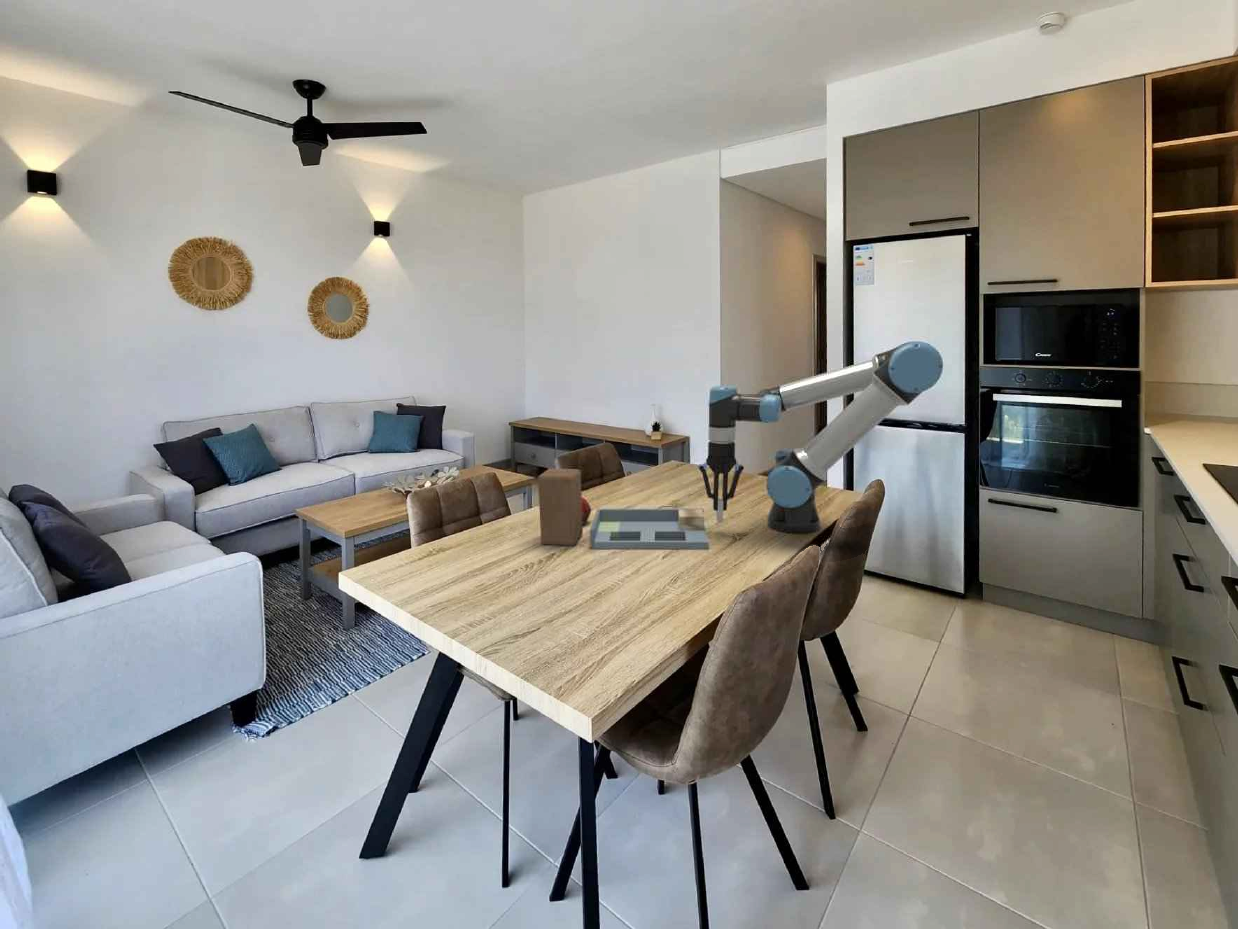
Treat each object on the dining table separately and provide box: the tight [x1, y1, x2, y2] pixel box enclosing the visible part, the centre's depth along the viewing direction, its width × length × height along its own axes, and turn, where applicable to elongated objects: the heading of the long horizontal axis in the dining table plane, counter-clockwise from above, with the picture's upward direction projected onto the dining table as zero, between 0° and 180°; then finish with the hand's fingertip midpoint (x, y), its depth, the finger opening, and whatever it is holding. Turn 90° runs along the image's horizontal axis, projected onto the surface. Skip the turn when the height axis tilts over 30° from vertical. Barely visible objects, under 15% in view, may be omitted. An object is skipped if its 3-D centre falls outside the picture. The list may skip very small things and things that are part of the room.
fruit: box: [581, 496, 592, 524], centre depth 187 cm, size 9×10×10 cm
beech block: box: [678, 510, 705, 530], centre depth 175 cm, size 7×7×4 cm
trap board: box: [589, 508, 710, 550], centre depth 173 cm, size 32×20×6 cm, turn 86°
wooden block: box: [537, 468, 584, 546], centre depth 170 cm, size 10×10×20 cm
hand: (719, 520), depth 175 cm, fingers closed
